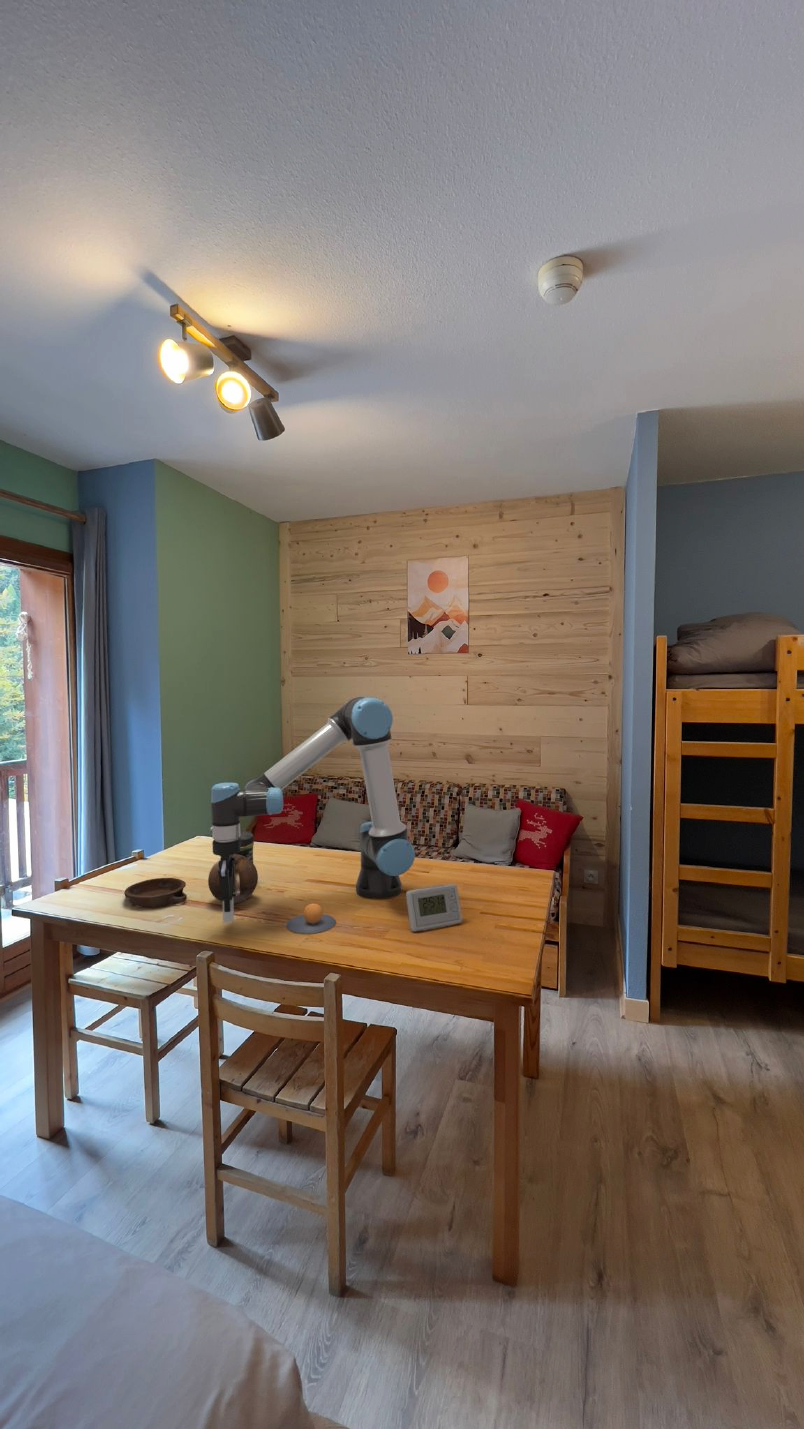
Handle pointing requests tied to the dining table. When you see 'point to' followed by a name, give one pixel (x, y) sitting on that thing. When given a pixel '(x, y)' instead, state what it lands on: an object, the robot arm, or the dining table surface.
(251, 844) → the coffee jar
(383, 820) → the robot arm
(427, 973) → the dining table surface
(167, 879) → the dish
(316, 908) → the ball
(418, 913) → the digital clock
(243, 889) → the wooden sphere
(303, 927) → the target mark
